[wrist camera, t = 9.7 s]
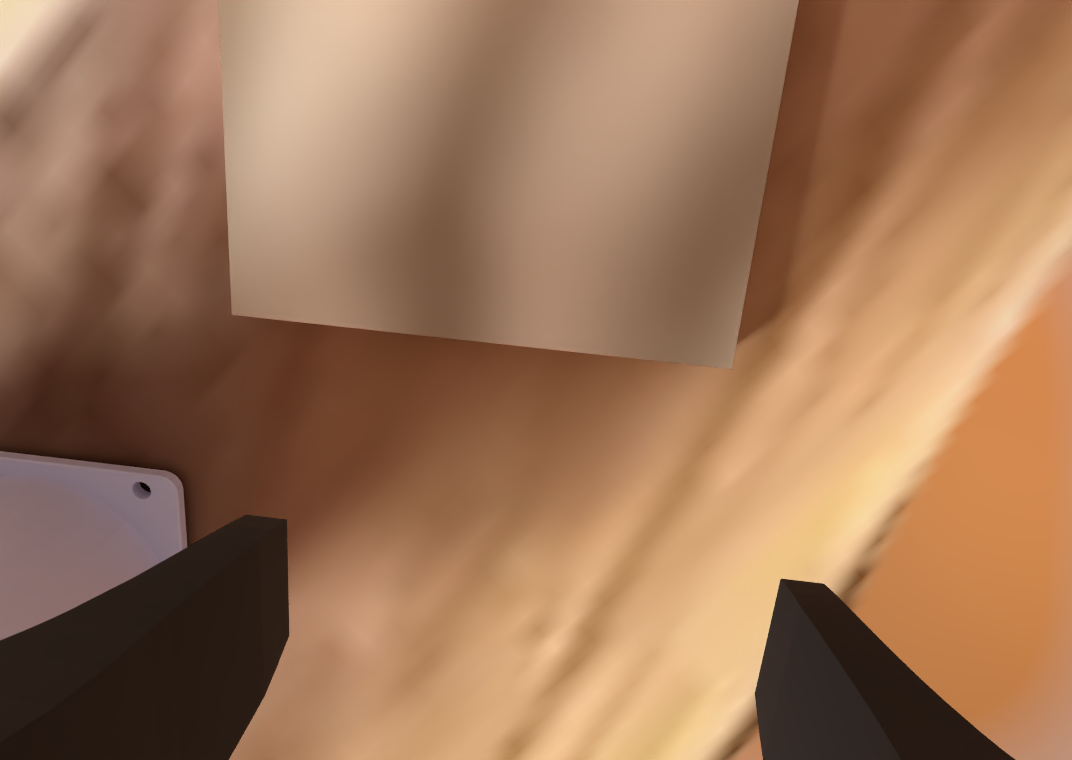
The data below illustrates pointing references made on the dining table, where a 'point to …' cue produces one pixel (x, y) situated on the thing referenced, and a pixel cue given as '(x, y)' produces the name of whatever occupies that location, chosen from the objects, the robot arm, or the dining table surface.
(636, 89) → the thin beige base plate
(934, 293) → the dining table surface
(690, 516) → the dining table surface
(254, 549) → the robot arm
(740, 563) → the dining table surface
